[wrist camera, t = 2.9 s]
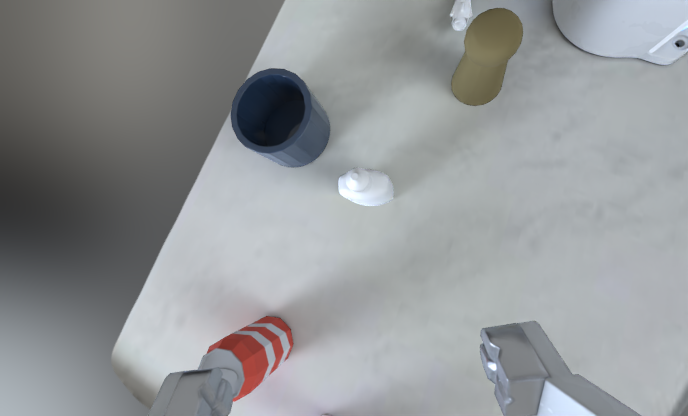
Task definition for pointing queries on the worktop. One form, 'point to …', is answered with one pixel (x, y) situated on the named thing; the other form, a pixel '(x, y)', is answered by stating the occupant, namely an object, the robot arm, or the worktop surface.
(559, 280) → the worktop surface
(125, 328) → the worktop surface
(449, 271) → the worktop surface
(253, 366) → the beverage can
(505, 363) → the robot arm
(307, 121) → the dark blue round pot
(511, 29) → the olive pawn
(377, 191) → the eye dropper bottle
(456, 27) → the small white plastic part
